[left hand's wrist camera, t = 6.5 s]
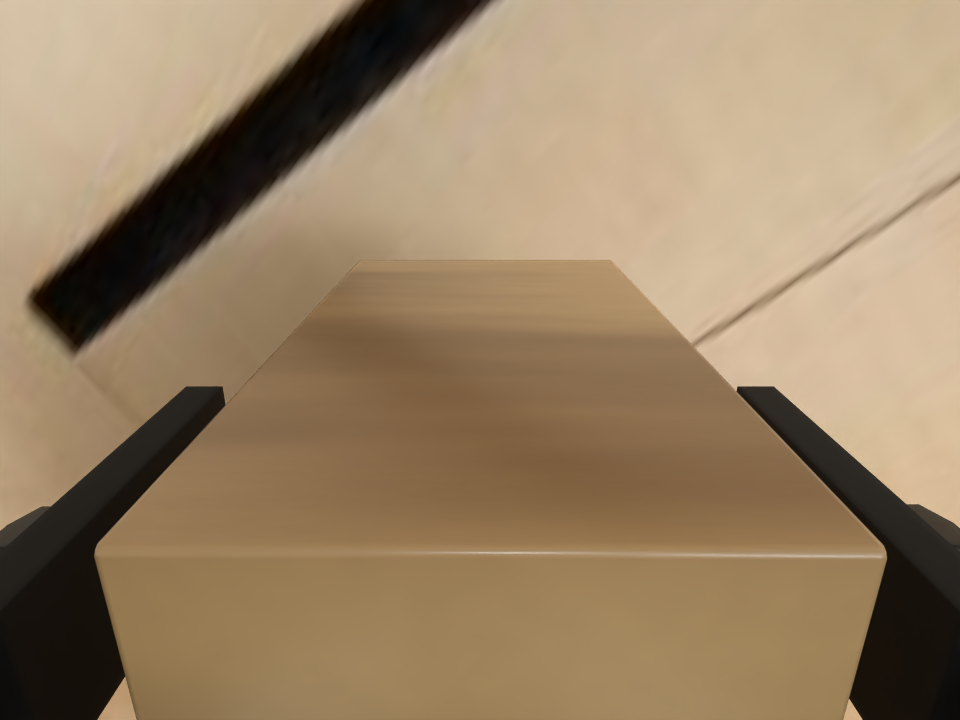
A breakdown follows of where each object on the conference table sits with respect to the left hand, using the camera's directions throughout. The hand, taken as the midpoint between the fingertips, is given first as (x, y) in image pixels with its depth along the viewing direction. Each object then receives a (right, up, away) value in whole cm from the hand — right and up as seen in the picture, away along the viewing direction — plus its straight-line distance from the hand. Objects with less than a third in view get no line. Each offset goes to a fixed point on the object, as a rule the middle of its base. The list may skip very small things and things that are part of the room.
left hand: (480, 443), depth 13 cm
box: (0, -6, +4) cm, 8 cm away
